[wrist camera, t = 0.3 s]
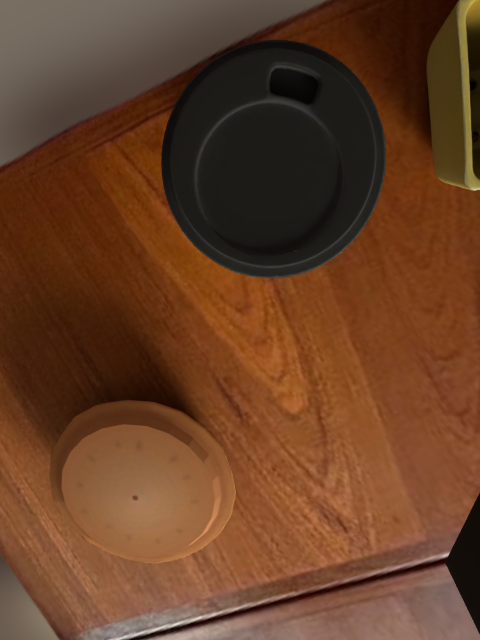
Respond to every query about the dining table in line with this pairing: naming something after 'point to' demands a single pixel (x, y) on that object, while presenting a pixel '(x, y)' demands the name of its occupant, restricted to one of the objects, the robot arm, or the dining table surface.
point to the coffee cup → (273, 159)
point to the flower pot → (456, 96)
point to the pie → (142, 480)
